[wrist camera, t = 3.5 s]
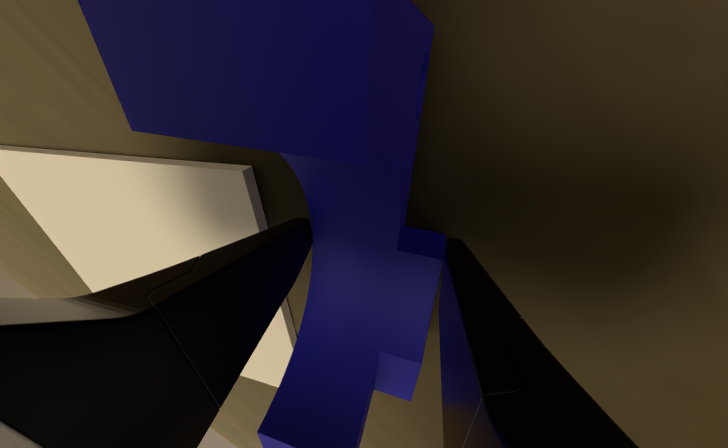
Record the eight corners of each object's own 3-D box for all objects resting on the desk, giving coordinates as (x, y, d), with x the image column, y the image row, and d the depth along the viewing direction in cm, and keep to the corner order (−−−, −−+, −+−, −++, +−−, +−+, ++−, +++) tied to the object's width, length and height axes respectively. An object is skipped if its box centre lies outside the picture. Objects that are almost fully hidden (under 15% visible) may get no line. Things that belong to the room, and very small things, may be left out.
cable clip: (419, 336, 13) (396, 505, 8) (332, 311, 14) (264, 450, 9) (498, 28, 6) (623, -46, 2) (322, 22, 7) (63, -34, 3)
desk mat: (251, 166, 11) (242, 171, 10) (309, 387, 20) (306, 396, 19) (-7, 144, 15) (-22, 147, 15) (137, 334, 24) (131, 340, 24)
